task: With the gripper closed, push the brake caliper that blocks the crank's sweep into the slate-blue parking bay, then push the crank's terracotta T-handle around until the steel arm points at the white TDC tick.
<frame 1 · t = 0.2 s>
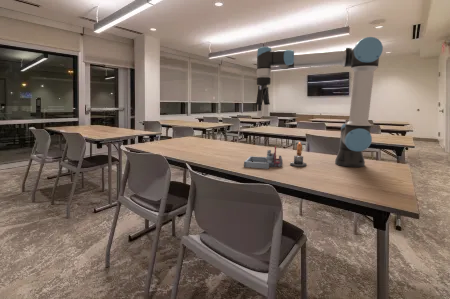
hand: (262, 116, 142), 27 cm above the table, fingers open, 13 cm apart
bay: (258, 164, 145), on the table
crank base: (298, 165, 144), on the table
brake caliper: (273, 165, 143), on the table
crank: (299, 152, 146), point 6 cm above the table, hinge at -90.0°
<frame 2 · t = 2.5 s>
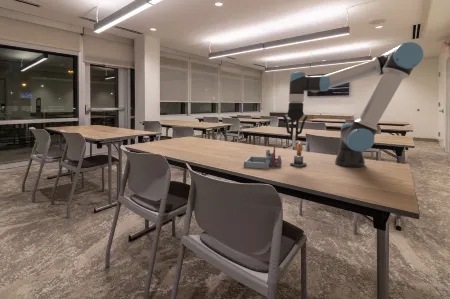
hand: (293, 146, 138), 11 cm above the table, fingers closed
nothing on the table moved.
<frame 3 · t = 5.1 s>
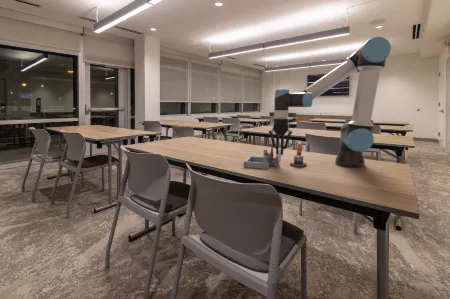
hand: (279, 160, 142), 3 cm above the table, fingers closed
brake caliper: (270, 165, 144), on the table, touching gripper
everything else where it was.
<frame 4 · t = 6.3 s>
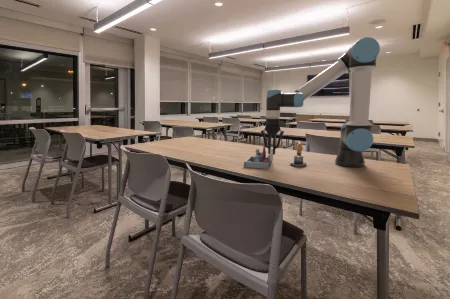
hand: (271, 159, 143), 3 cm above the table, fingers closed
brake caliper: (262, 164, 146), on the table, touching gripper
everything else where it was.
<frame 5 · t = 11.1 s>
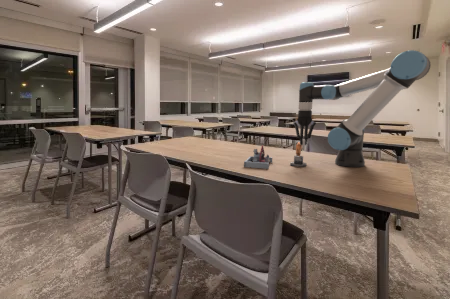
hand: (302, 150, 151), 7 cm above the table, fingers closed
brake caliper: (261, 164, 147), on the table
crank: (298, 152, 147), point 6 cm above the table, hinge at -86.7°, touching gripper
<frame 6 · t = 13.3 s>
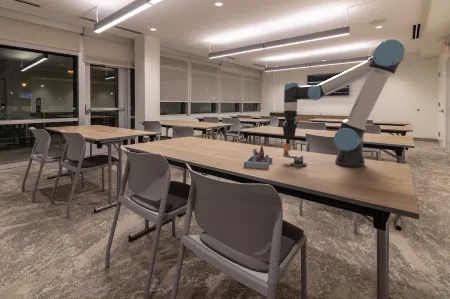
hand: (288, 150, 151), 7 cm above the table, fingers closed
crank: (293, 153, 146), point 6 cm above the table, hinge at -30.8°, touching gripper
everything else where it was.
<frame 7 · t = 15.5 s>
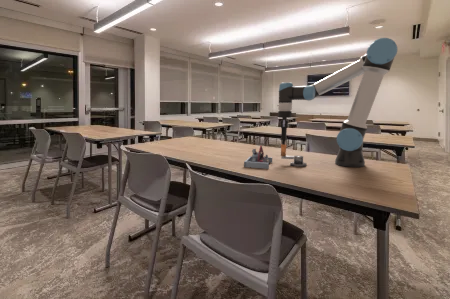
hand: (283, 150, 150), 7 cm above the table, fingers closed
crank: (291, 153, 144), point 6 cm above the table, hinge at 3.8°
everything else where it was.
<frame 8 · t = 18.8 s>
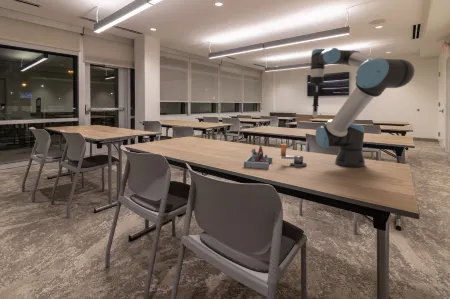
hand: (314, 117, 154), 26 cm above the table, fingers closed
crank: (291, 153, 144), point 6 cm above the table, hinge at 3.5°
at the end: brake caliper inside the target area (1.7 cm from its centre), on the table; crank at +4° (first picture: -90°); brake caliper touching table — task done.
